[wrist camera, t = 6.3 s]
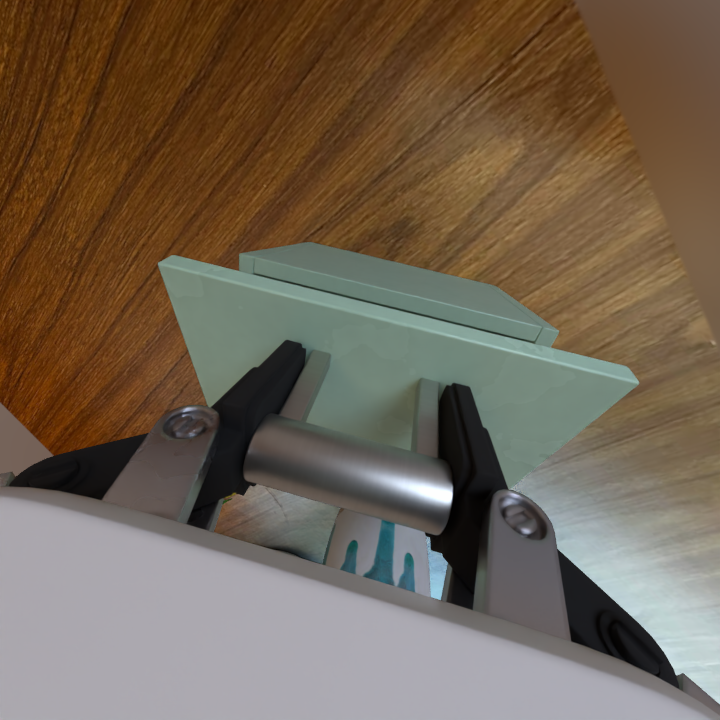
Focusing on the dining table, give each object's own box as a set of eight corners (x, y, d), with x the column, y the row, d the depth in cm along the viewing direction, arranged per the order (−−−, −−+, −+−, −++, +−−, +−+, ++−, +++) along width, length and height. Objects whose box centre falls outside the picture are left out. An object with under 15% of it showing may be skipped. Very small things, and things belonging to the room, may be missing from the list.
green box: (309, 241, 23) (238, 253, 14) (496, 285, 22) (560, 331, 13) (293, 387, 30) (237, 463, 20) (437, 425, 29) (450, 524, 19)
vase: (380, 455, 32) (345, 717, 15) (444, 506, 34) (478, 792, 17) (324, 495, 37) (249, 732, 19) (384, 539, 38) (363, 790, 21)
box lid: (173, 253, 10) (-22, 355, 6) (628, 365, 9) (790, 580, 5) (237, 463, 20) (185, 553, 16) (451, 524, 19) (454, 635, 15)
